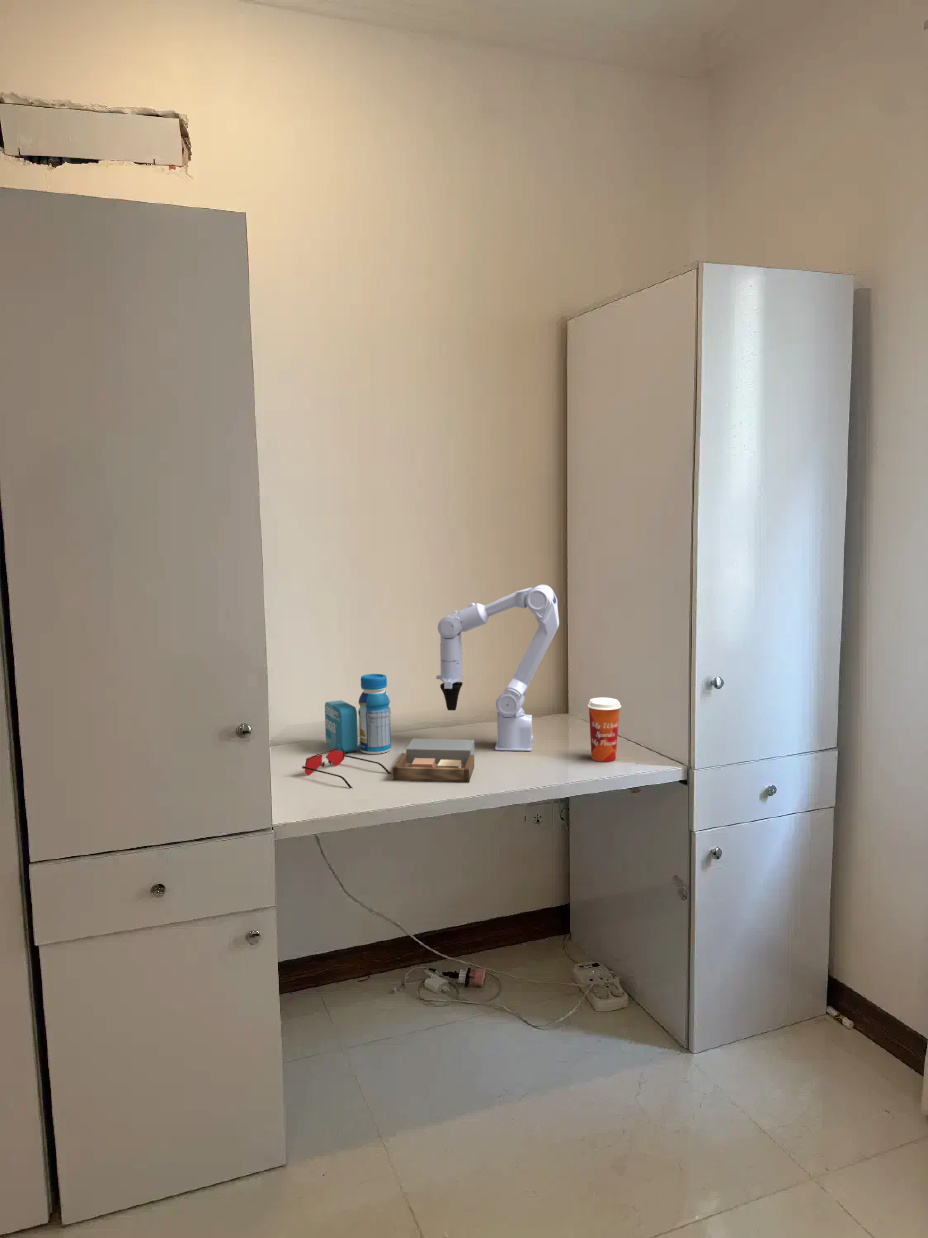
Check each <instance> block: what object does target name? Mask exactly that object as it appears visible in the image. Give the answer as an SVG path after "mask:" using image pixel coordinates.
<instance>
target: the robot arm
mask: <svg viewBox="0 0 928 1238" xmlns="http://www.w3.org/2000/svg"><path fill="white" fill-rule="evenodd" d="M513 608H521V609H526V608H528V609H529V611H530V612H531V613H532V614H533V615H534V616H535V619H536V622H537V624H538V628H537V629H536V631H535V633H534V635H533V637H532V639H531V641H530V644H528V647H527V649H526V651H525V653H524V655H523V657H522V659H521V661H520V663H519V664H518V667H517V669H516V670H515V672H514V674H513V676H512V678H511V679H510V681H509V684H508V686H507V687H506V688H505V689H504V690H503V692H502V693H501V694H500V695H499V696H498V697H497V698H496V702H495V707H496V710H497V713H496V714H497V715H496V716H497V719H496V723H497V725H496V726H497V727H496V728H497V731H496V732H497V740H496V744H495V747H494V750H495V751H511V752H512V751H517V752H521V751H522V752H531V751H532V748H533V747H532V746H533V743H534V735H533V715H532V714H526V713H525V710H524V709H523V705H524V704H525V701H526V692H527V690H528V688H529V686H530V684H531V681H532V679H533V678H534V675H535V674H536V671H537V670H538V668H539V665H540V663H541V662H542V660H543V658H544V656H545V655H546V652H547V651H548V649H549V647H550V645H551V643H552V641H553V638H554V637H555V635H556V632H557V631H558V629H559V627H560V626H559V625H560V617H559V610H558V609H559V608H558V598H557V596H556V594H555V592H554V590H553V589H552V587H551V586H549V585H547V584H539V585H537V586H536V585H535V587H534V588H533V587H532V586H531V587H528V588H527V587H526V588H524V589H521V590H517V591H515V592H513V593H510V594H508V595H506V596H503V597H501V598H500V599H497V600H495V601H492V602H490V603H488V604H481V603H478V602H477V603H475V602H472V603H469V604H468V607H466V608H463V609H461V610H454V611H453V612H452V613H451V614H449V615H445V616H444V617H442V618H441V619H440V621H439V622H438V623H437V624H438V625H437V631H438V634H440V644H439V645H440V646H439V649H440V654H439V655H440V657H439V658H440V660H439V661H440V674H439V675H436V677H435V678H436V680H440V681H441V682H442V683H440V685H439V687H440V690H441V692H442V693H443V696H444V700H445V706H446V709H447V711H456V709H457V706H458V699H459V696H460V695H459V694H460V691H461V688H462V687H463V684H464V682H462V680H463V679H464V677H463V657H462V655H463V651H462V649H463V647H462V645H463V643H462V632H464V633H466V632H468V631H470V630H473V629H476V628H478V627H480V626H483V625H485V624H487V623H488V620H489V618H490V617H491V616H494V615H497V614H500V613H502V612H504V611H507V610H510V609H513Z"/></svg>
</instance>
